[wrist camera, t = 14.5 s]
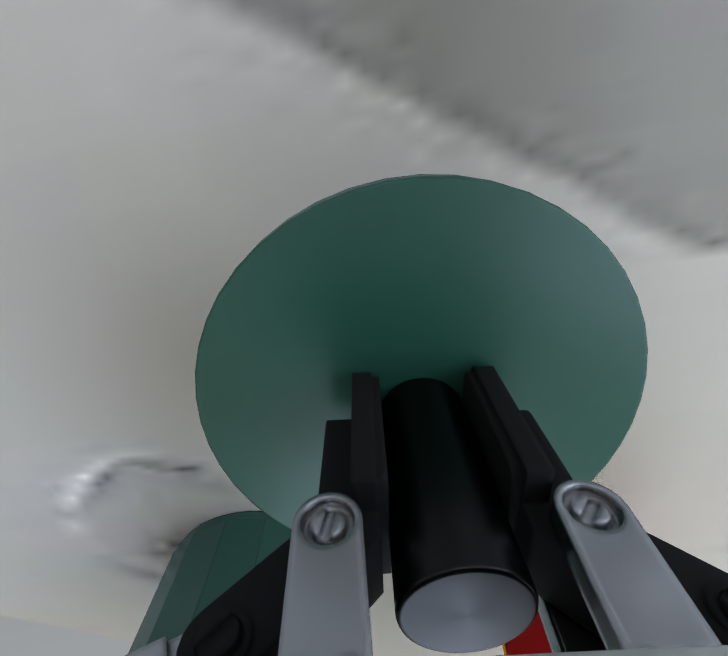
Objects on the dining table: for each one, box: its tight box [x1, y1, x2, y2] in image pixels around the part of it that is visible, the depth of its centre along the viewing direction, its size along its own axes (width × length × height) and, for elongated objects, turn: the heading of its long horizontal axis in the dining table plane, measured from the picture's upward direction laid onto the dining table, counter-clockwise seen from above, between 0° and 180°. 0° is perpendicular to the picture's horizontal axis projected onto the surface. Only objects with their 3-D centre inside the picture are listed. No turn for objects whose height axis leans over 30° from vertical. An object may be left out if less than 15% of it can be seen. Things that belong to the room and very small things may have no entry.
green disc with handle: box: [195, 174, 648, 653], centre depth 10 cm, size 13×13×7 cm
